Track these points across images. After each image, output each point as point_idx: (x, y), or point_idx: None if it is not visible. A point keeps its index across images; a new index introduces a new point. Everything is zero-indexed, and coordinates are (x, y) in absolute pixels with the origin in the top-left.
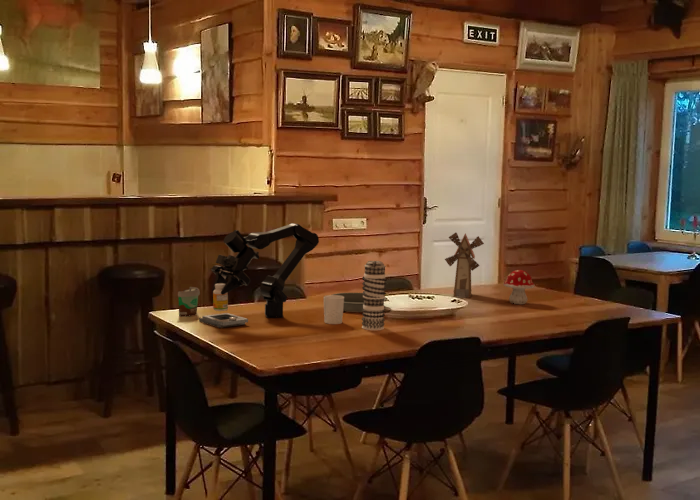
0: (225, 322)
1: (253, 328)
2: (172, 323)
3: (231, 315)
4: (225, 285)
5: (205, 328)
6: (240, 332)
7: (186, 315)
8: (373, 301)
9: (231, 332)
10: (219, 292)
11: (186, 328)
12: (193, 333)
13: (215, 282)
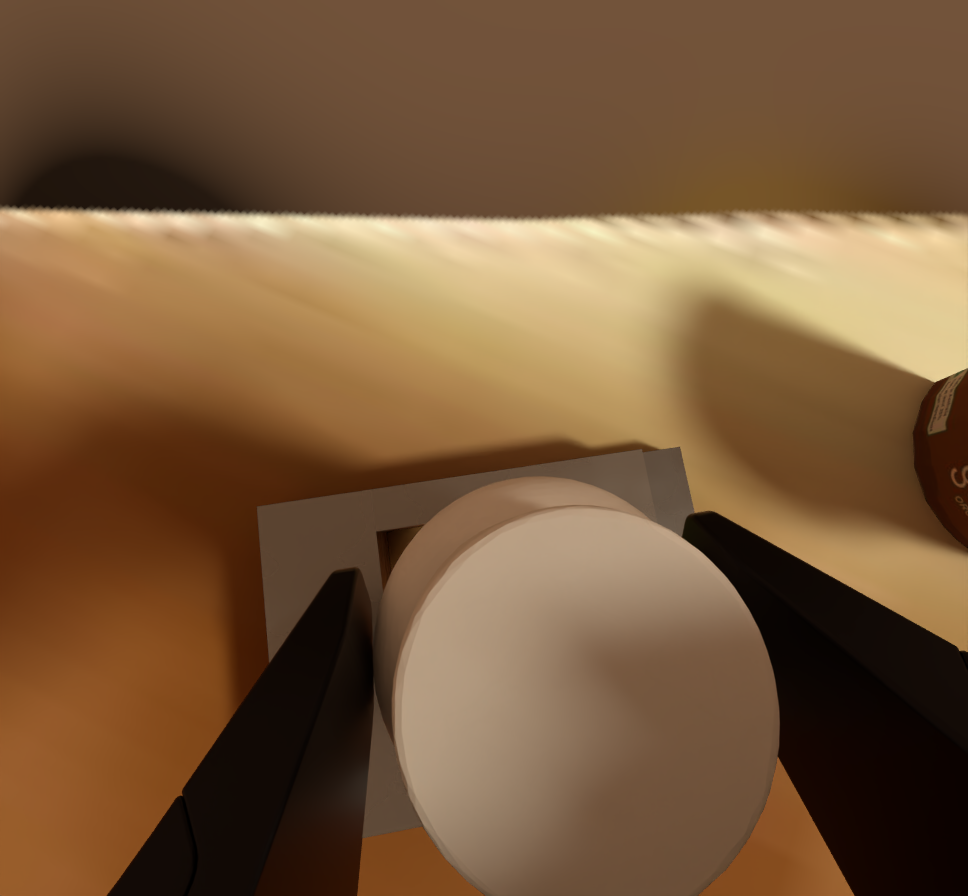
0: (261, 535)
1: (151, 796)
2: (673, 230)
3: None
4: (258, 771)
5: (376, 382)
6: (66, 592)
7: (919, 434)
8: None
9: (113, 516)
10: (401, 555)
11: (448, 251)
12: (251, 227)
13: (938, 663)
